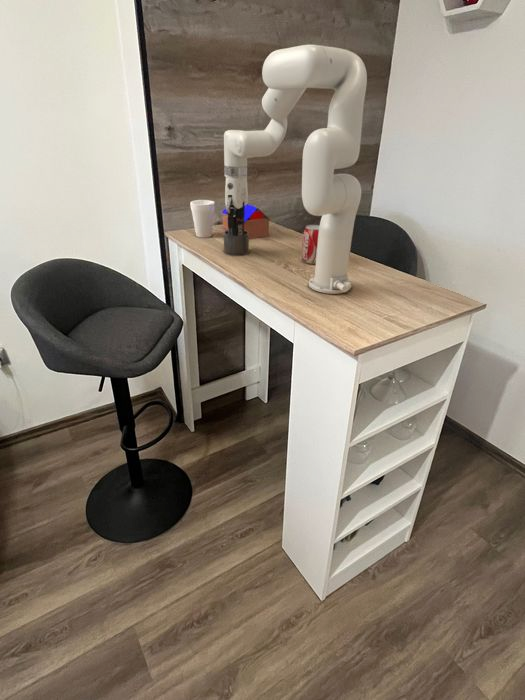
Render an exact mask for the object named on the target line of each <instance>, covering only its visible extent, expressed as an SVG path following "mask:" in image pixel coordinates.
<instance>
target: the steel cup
mask: <svg viewBox="0 0 525 700" xmlns="http://www.w3.org/2000/svg"><path fill="white" fill-rule="evenodd" d="M249 241H250V239H249V232H248V231H245V230H244V235H240V236H233V235H228V230H224V231H223V252H224V253H225V254H226V255H229V256H245V255H247V254H249V252H250V250H249V249H250V242H249Z"/></svg>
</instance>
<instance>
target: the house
mask: <svg viewBox="0 0 525 700" xmlns="http://www.w3.org/2000/svg"><path fill="white" fill-rule="evenodd" d="M221 214H222V228H223V229H224V230H225V231H227V230H228V216H227V211H226V207H225V208H224V209H223V210H222V211H221ZM244 230H245V231H248V232H249V240H250V239H256V238H263V237H269V233H270V218H269V217H268V216H267V215H266V214H265V213H264V212H262V210H261V209H260V208H258V207H256V206H253V205H251V204H248V203H247V205H245V211H244Z"/></svg>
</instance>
